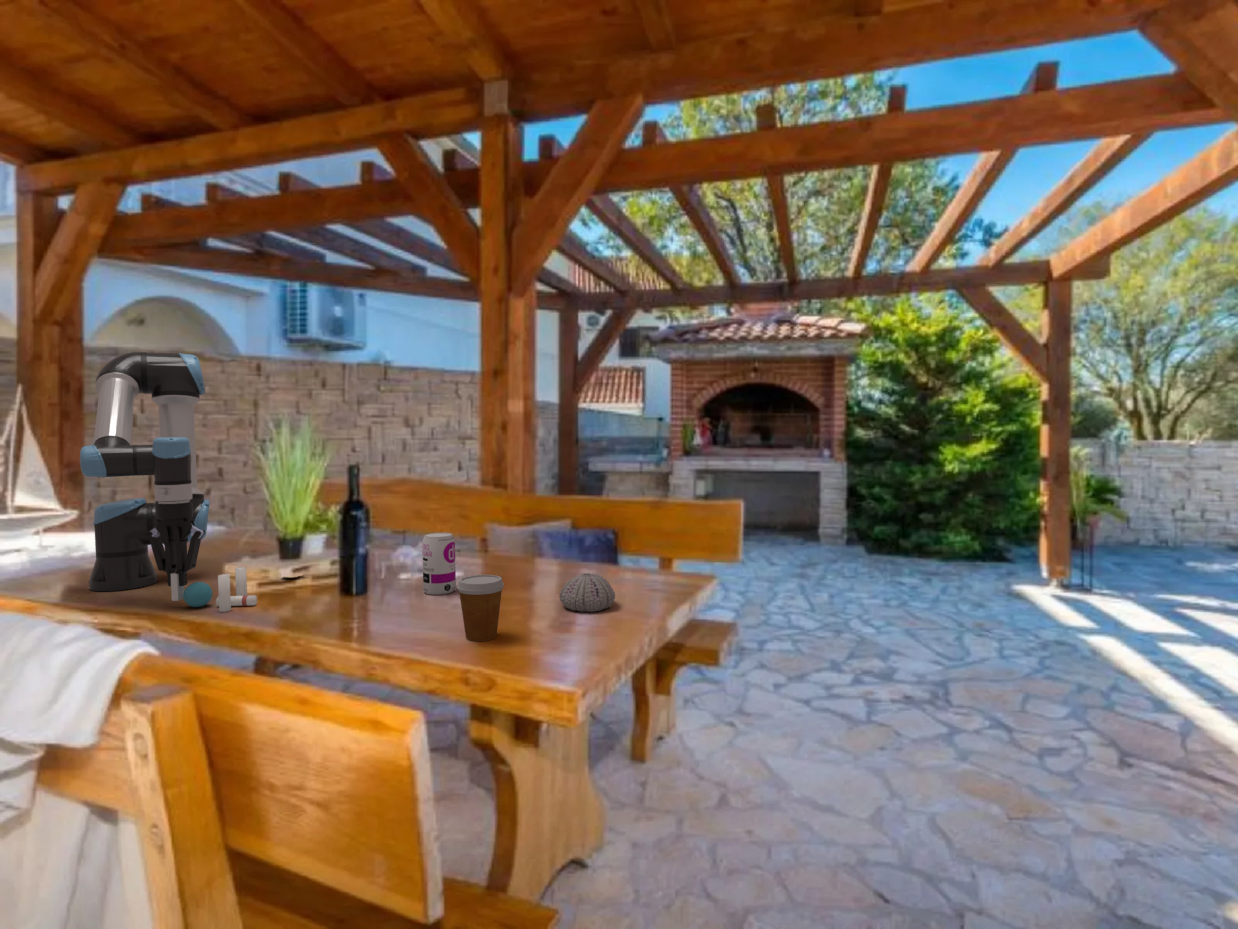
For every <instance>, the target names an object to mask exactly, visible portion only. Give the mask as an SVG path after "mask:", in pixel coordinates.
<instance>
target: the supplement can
mask: <svg viewBox="0 0 1238 929" xmlns="http://www.w3.org/2000/svg"><path fill="white" fill-rule="evenodd" d="M421 545H422V546H421V548H422V549H421V550H422V551H421V552H422V587H423V588H422V590H423V592H425V594H426V595H427V594H428V595H430V596H441V595H448V594H451V593H453V592H454V590H456V589H457V584H456V581H457V580H456V579H457V578H456V574H457V573H456V570H457V569H456V540H455V538H454V536H453V533H451V532H432V533H431V532H430V533H427V534H425V535H424V537H423V539H422V540H421Z"/></svg>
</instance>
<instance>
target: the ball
mask: <svg viewBox="0 0 1238 929" xmlns="http://www.w3.org/2000/svg"><path fill="white" fill-rule="evenodd" d="M212 597H213V590H212V587H211V586H210V585H209V584H208V583H206V582H203V581H195V582H192V583H191V584H188V586H186V588H184V594H183V600H184V602H185V604H186V605H187V606H189V607H192V608H201V607H205V606H206V605H207V604H208V603H209V602H211V600H212Z"/></svg>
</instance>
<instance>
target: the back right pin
mask: <svg viewBox="0 0 1238 929" xmlns="http://www.w3.org/2000/svg"><path fill="white" fill-rule="evenodd" d="M230 576H231V575H230V574H229V573H223V574H222V573H221V574H218V575H217V582H218V583H217V587H218V590H217V591H218V596H219V607H218V612H219V613H227V611H228V612H230V610H232V606H231V599H230V596H231V583H230V582H231V580H230V579H231V578H230Z"/></svg>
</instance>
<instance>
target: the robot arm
mask: <svg viewBox="0 0 1238 929" xmlns="http://www.w3.org/2000/svg"><path fill="white" fill-rule="evenodd" d="M95 390H96V393H97V394H98V402H97V408H96V418H95V427H94V435H93V443H92V444H90V445H85V446H82V447H81V449H80V452H79V463H80V464H79V465H80V470H81V473H82V475H83V476H84V477H87V478H113V477H114V478H115V477H118V478H119V477H131V476H132V477H134V476H137V477H138V476H140V477H141V476H142V477H143V476H153V477H154V478H153V479H154V483H153V484H154V500H155V502H148V501H147V500H146V498H145V497H138V498H128V499H120V500H117V501H116V500H115V501H111V502H106V503H103V504H100V505H98V506H96V507H95V509H94V510H93V522H92V523H93V524H92V525H93V526H94V541H95V542H94V546H95V548H94V549H95V562H94V565H93V568H92V571H91V574H90V576H89V580H88V587H89V588H88V589H89V590H91V591H94V592H113V591H114V592H117V591H125V590H126V589H127V590H133V589H139V588H144V587H147V586H151V585H153V584H156V583H157V582H158V574H157V571H156V569H155V566H154V564H153V562H152V560H151V558H150V556H149V546H150V547H151V550H152V553H153V557H154V560H155V564H156V568H157V570H158V571H159V572H165V573H166V576H167V577H166V578H167V586H168V587H170V590H171V593H170V594H171V601H173V602H174V601H175V602H176V601H180V600H184V598H183V594H184V591H185V586H186V585H187V584H188V571H190V570H193V569H195V568H196V567H197V566H196V565H197V561H198V556H199V552H200V546H201V542H202V540H204V539H205V538H206V536H207V532H208V530H207V529H208V522H209V513H210V511H209V510H210V505H211V504H210V501H211V500H210V499H206V498H204V497H205V495H204V494H205V493H204V492H202V491H201V490H200V489H199V488H198V480H197V479H198V474H197V470H198V469H197V452H196V446H197V445H196V429H195V428H196V425H195V424H196V423H195V421H196V420H195V405H197V404H198V403H200V398H201V397H200V396H203V395H205V394H206V389H205V383H204V378H203V371H202V366H201V363H200V359H199V358H198V356H196V355H194V354H189V353H181V352H178V353H177V352H175V353H174V352H143V351H130V352H126V353H122V354H120V355H118V356H116V357H114V358H112V359H111V360H109V362H107V363H105V365H104V366H103V367H101V369H100V370H99V372H98V374H97V376H96V379H95ZM139 394H144V395H145V394H147V395H148V394H149V395H150V394H151V401H152V402H153V403H155V404H156V405H157V406H158V427H159V428H158V430H159V431H158V432H159V434H158V435H159V437H155V438H154V439H153V440H152V444H132V436H133V435H132V433H133V420H134V405H135V399H136V398H137V396H138V395H139ZM188 544H189V545H188ZM143 586H144V587H143ZM138 587H139V588H138Z"/></svg>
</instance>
